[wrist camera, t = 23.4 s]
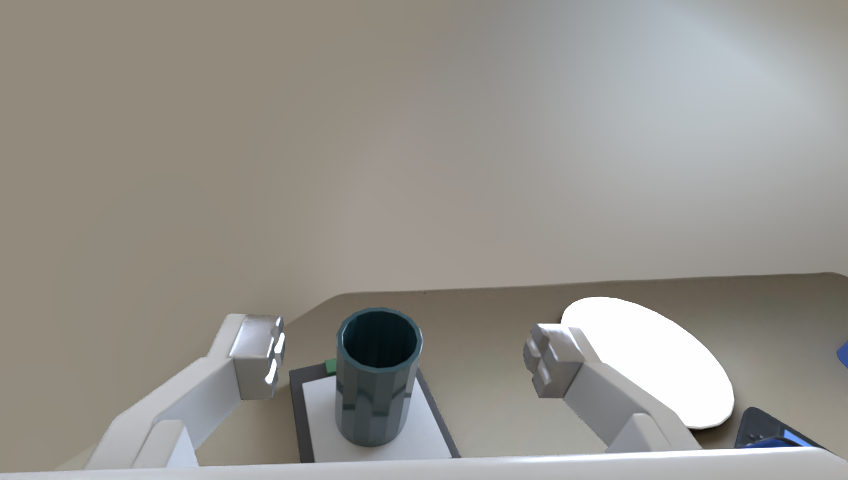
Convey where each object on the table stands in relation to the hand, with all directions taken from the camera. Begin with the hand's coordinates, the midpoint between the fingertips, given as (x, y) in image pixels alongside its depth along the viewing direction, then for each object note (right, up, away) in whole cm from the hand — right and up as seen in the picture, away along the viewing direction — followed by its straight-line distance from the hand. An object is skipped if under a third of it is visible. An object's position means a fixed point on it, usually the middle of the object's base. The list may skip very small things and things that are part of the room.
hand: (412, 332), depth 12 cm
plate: (+28, -13, +37) cm, 48 cm away
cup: (-5, -13, +22) cm, 26 cm away
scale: (-5, -15, +24) cm, 29 cm away
